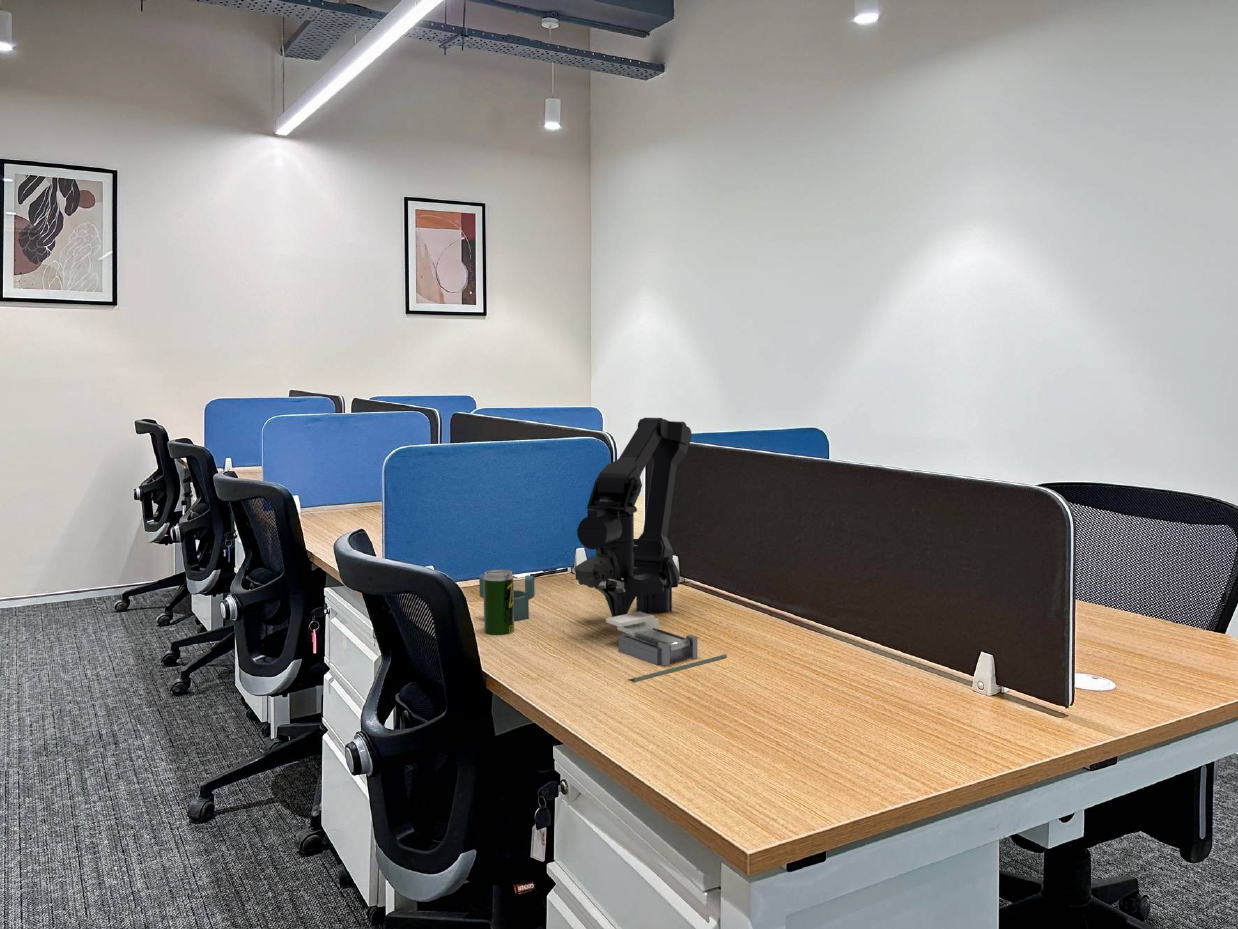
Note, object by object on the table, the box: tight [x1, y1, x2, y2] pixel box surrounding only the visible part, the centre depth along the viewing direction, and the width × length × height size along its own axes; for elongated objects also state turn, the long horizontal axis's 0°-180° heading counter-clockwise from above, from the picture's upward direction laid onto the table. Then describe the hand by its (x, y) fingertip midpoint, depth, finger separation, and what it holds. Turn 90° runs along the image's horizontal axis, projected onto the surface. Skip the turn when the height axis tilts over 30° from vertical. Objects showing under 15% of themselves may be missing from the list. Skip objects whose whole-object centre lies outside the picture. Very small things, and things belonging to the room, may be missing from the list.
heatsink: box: [617, 628, 698, 668], centre depth 154 cm, size 8×11×4 cm
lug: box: [605, 611, 660, 637], centre depth 161 cm, size 8×4×4 cm, turn 128°
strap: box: [616, 624, 690, 652], centre depth 155 cm, size 4×15×1 cm, turn 38°
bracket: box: [478, 573, 535, 623], centre depth 181 cm, size 9×9×9 cm
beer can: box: [483, 569, 515, 636], centre depth 168 cm, size 5×5×12 cm
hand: (618, 625), depth 169 cm, fingers closed
